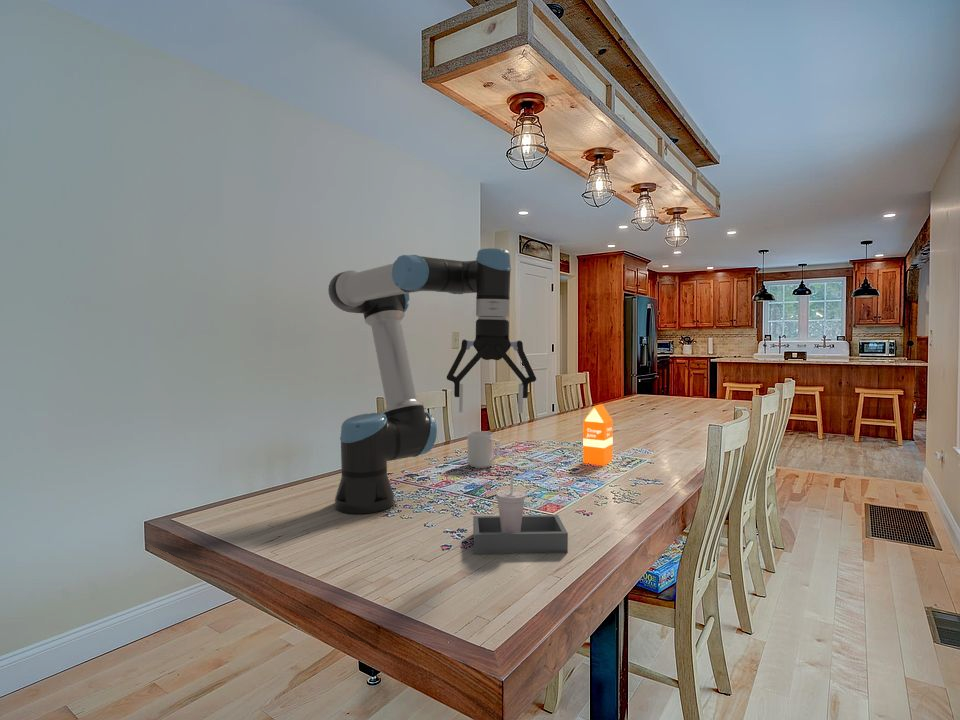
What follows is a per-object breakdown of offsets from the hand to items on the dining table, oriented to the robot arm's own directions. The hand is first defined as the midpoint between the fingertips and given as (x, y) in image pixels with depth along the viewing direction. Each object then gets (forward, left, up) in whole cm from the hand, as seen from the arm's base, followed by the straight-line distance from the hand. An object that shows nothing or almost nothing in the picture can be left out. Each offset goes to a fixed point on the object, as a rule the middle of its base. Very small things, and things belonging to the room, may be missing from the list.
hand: (490, 412), depth 121 cm
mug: (-57, +1, -27) cm, 63 cm away
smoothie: (+9, +4, -26) cm, 28 cm away
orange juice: (-62, +41, -27) cm, 79 cm away
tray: (+9, +5, -27) cm, 29 cm away
